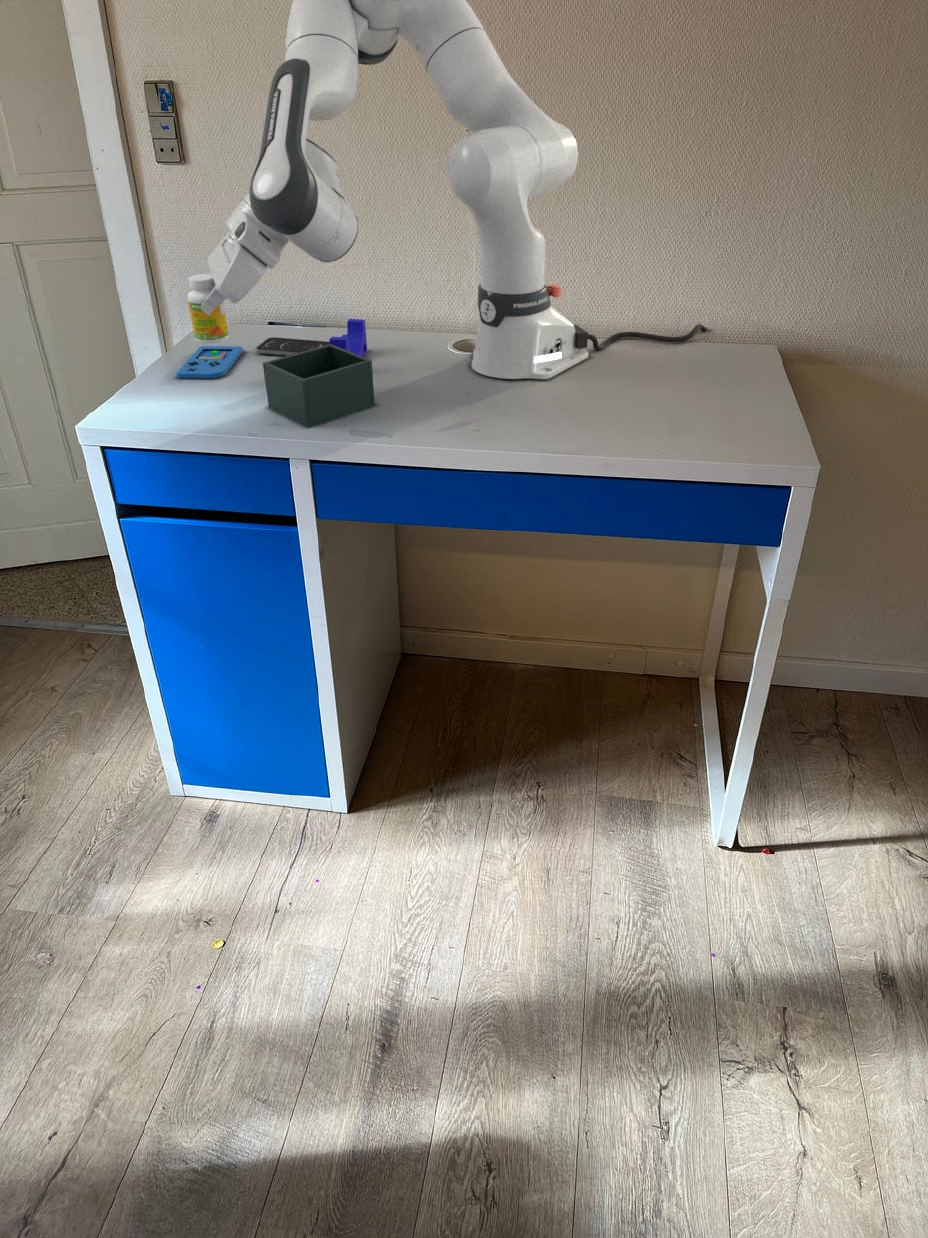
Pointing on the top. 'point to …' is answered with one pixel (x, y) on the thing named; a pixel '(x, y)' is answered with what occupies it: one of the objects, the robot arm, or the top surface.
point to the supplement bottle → (203, 324)
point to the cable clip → (353, 338)
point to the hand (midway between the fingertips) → (202, 305)
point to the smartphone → (288, 346)
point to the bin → (319, 384)
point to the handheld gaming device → (210, 362)
